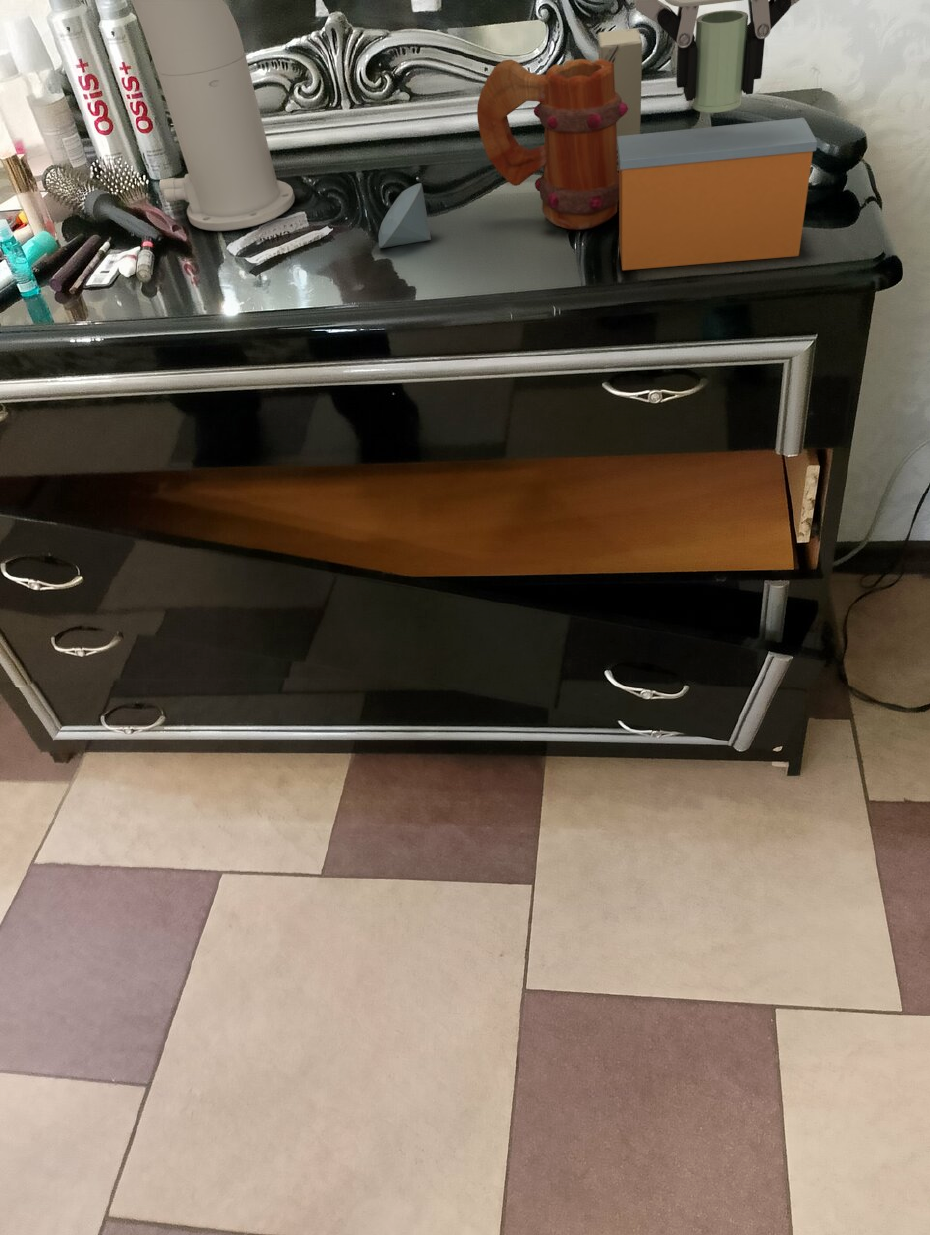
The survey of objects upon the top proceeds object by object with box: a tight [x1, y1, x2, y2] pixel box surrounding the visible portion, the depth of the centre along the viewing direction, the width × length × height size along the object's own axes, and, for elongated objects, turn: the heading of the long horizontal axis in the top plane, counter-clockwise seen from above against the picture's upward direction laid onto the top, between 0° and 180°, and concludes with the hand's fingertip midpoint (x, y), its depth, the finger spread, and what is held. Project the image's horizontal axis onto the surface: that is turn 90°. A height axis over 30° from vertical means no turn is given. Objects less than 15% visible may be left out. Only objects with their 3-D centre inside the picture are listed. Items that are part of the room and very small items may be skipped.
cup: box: [692, 9, 749, 114], centre depth 78 cm, size 4×4×6 cm
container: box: [617, 117, 818, 271], centre depth 85 cm, size 16×6×10 cm, turn 86°
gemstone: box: [377, 182, 432, 249], centre depth 97 cm, size 8×8×5 cm
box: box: [597, 27, 643, 172], centre depth 102 cm, size 5×4×13 cm
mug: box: [476, 58, 628, 231], centre depth 92 cm, size 15×8×15 cm, turn 74°
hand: (717, 90), depth 79 cm, fingers closed on cup, 4 cm apart
